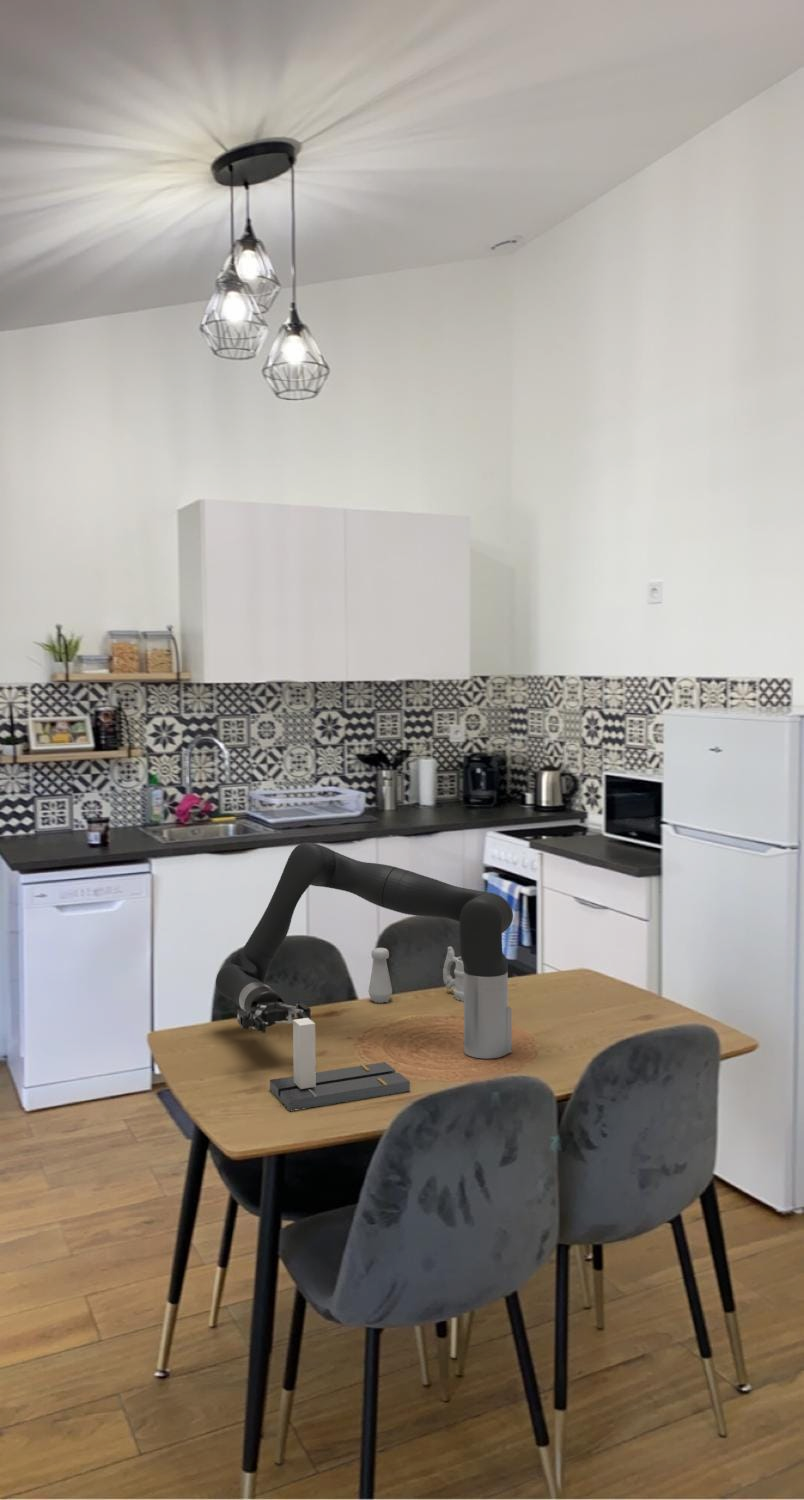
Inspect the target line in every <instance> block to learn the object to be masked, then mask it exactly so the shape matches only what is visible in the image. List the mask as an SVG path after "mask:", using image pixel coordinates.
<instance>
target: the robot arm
mask: <svg viewBox="0 0 804 1500" xmlns="http://www.w3.org/2000/svg"><path fill="white" fill-rule="evenodd" d="M310 886H313V887H321V888H322V887H323V888H328V889H329V888H330V889H332V890H333V889H334V890H338V891H343V892H348V893H351V894H353V895H355V896H358V898H362V899H363V900H365V901H366V902H369V903H371V904H373V905H375V906H378V907H381V908H383V909H386V910H390V911H394V912H397V913H400V914H405V915H409V916H418V917H419V916H420V917H433V918H443V919H448V920H452V921H456V922H458V923H459V924H458V925H459V926H458V928H459V930H458V931H459V948H460V951H459V953H460V956H461V959H462V961H463V964H464V1001H463V1053H464V1054H466V1055H467V1056H469V1057H472V1058H476V1059H498V1058H502V1057H504V1056H506V1055H508V1054H511V1053H512V1051H513V1050H512V1049H513V1048H512V1045H513V1043H512V1042H513V1041H512V1039H513V1038H512V1037H513V1035H512V1033H513V1032H512V1031H513V1030H512V1027H513V1026H512V1024H513V1023H512V1022H513V1020H512V1017H513V1015H512V1008H511V1006H509V1002H508V1001H509V1000H508V999H509V998H508V996H509V995H508V992H509V990H508V988H509V987H508V985H509V984H508V981H509V980H508V979H509V977H508V975H509V973H508V971H509V969H508V968H509V967H508V966H509V965H508V964H509V963H508V959H507V957H506V956H504V953H503V934H504V933H505V932H506V931H507V930H508V929H509V928H510V926H511V925H512V923H513V920H514V912H513V909H512V906H511V905H510V903H509V902H508V901H507V900H506V899H505V898H504V897H503V896H502V895H499V894H496V893H493V892H489V891H482V890H476V889H470V888H464V887H461V886H456V885H453V884H449V883H447V882H444V881H442V880H438V879H436V878H432V877H429V876H427V875H424V874H419V873H416V872H414V871H410V870H407V869H404V868H401V867H396V866H392V865H388V864H382V863H376V862H375V863H374V862H367V861H360V860H357V859H355V858H351V857H349V856H347V855H344V854H341V853H339V852H338V851H337V852H336V851H335V850H333V849H331V848H329V847H326V846H324V845H321V844H318V843H315V842H306V841H305V842H302V843H299V844H298V845H296V846H295V847H294V849H292V851H290V854H289V856H288V859H287V861H286V863H285V865H284V868H283V870H282V873H281V876H280V878H279V881H278V882H277V885H276V888H275V889H274V892H273V895H272V896H271V898H270V900H269V902H268V905H267V907H266V909H265V911H264V912H263V913H262V916H261V918H260V920H258V923H257V925H256V926H255V928H254V930H253V931H252V933H251V935H250V936H249V938H248V940H247V941H246V943H245V945H244V946H243V949H242V955H243V957H244V958H245V959H247V961H249V962H250V963H251V964H252V965H253V966H254V967H253V970H252V971H249V970H248V969H246V968H243V967H241V966H239V965H237V964H230V963H229V964H227V965H225V966H223V967H222V968H221V969H220V970H219V971H218V972H217V975H216V979H215V987H216V990H217V991H218V993H219V994H220V995H221V996H223V997H225V998H227V999H228V1000H230V1001H232V1002H233V1003H235V1004H236V1005H237V1006H238V1007H239V1008H238V1009H236V1010H237V1023H238V1025H239V1026H240V1027H241V1028H242V1029H243V1030H249V1028H250V1027H251V1028H252V1030H256V1031H257V1032H259V1033H261V1034H264V1033H265V1034H266V1031H267V1030H266V1029H267V1028H268V1027H272V1026H274V1025H275V1024H277V1023H278V1024H281V1023H284V1024H288V1025H289V1024H290V1025H291V1024H293V1020H295V1019H303V1018H309V1019H310V1020H311V1021H312V1017H311V1012H312V1008H311V1007H309V1006H308V1005H306V1004H305V1003H303V1002H301V1001H296V1002H295V1005H289V1004H287V1003H285V1001H284V1000H283V997H282V996H281V995H280V994H279V993H278V992H276V991H275V990H274V989H272V988H271V987H270V986H269V985H268V984H265V982H266V979H267V976H268V973H269V969H270V967H271V964H272V962H273V960H274V958H275V957H276V955H277V954H278V952H279V950H280V948H281V947H282V945H283V944H284V942H285V940H286V937H287V935H288V933H289V930H290V925H291V924H292V919H293V916H294V913H295V909H296V907H297V905H298V903H299V901H300V899H301V898H302V897H303V895H304V893H305V892H306V890H308V888H309V887H310Z"/></svg>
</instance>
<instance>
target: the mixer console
mask: <svg viewBox="0 0 804 1500" xmlns="http://www.w3.org/2000/svg"><path fill="white" fill-rule="evenodd" d="M410 1084H411V1082H410V1080H409V1079H408V1078H407V1077H405V1076H404V1075H402V1074H401V1073H400V1072H396V1069H395V1068H393V1067H392V1066H391V1065H390V1064H388V1063H387V1062H385V1061H382V1062H377V1063H369V1064H363V1063H362V1064H359V1065H358V1066H357V1065H356V1066H350V1067H345V1068H337V1069H331V1070H330V1069H329V1070H324V1071H323V1070H322V1071H318V1072H316V1087H311V1088H304V1089H300V1088H299V1087H298V1086H297V1085H296V1084H295V1083H294V1075H292V1076H285V1077H280V1078H272V1079H269V1091H270V1093H272V1094H273V1095H274V1096H275V1098H276V1099H279V1100H280V1101H281V1102H282V1103H283V1104H284V1105H283V1104H282V1103H281V1102H280V1101H279V1100H278V1101H279V1102H280V1103H281V1104H282V1105H283V1106H284V1107H285V1108H286V1107H287V1108H288V1109H287V1108H286V1109H287V1111H288V1112H292V1111H291V1110H295V1109H302V1110H304V1109H303V1108H308V1109H311V1108H310V1107H314V1108H319V1107H318V1106H320V1107H324V1106H325V1105H326V1106H331V1105H330V1104H332V1105H336V1104H335V1103H338V1104H342V1103H341V1102H344V1103H347V1102H346V1101H350V1102H353V1101H352V1100H356V1101H360V1100H359V1099H362V1100H365V1099H364V1098H368V1099H371V1098H370V1097H374V1098H377V1097H378V1096H380V1097H384V1096H390V1095H389V1094H391V1095H395V1094H394V1093H397V1094H402V1093H401V1092H403V1093H407V1092H406V1091H409V1092H411V1085H410ZM378 1098H379V1097H378Z"/></svg>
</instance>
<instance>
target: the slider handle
mask: <svg viewBox="0 0 804 1500" xmlns="http://www.w3.org/2000/svg"><path fill="white" fill-rule="evenodd" d="M292 1032H293V1033H292V1036H293V1037H292V1040H293V1041H292V1042H293V1043H292V1045H293V1046H292V1047H293V1048H292V1049H293V1050H292V1052H293V1053H292V1054H293V1056H292V1057H293V1059H292V1061H293V1076H294V1083H295V1084H296V1085H297V1086H298V1087H299V1088H300V1089H304V1088H311V1087H316V1073H317V1072H316V1070H317V1069H316V1068H317V1067H316V1062H317V1061H316V1058H317V1057H316V1023H315V1022H314V1021H313V1020H312V1019H311V1020H310V1019H309V1018H303V1019H295V1020H293V1023H292Z"/></svg>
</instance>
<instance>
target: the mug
mask: <svg viewBox="0 0 804 1500" xmlns="http://www.w3.org/2000/svg"><path fill="white" fill-rule="evenodd" d="M453 963H455V969H454V971H453V972H454V973H453V974H454V976H455V978H453V976H452V975H451V967H452V965H453ZM442 976H443V979H442V980H443V983H444V984H445V987H446V989H447V990H450V989H453V992H452V994H453V995H454V999H455V1000H456V999H457V1000H456V1001H458V1000H460V1001H461V1002H464V964H463V961H462V959H461V955H460V956H458V957H456V955H455V950H454V948H453V946H448V947H447V954H446V957H445V961H444V964H443V969H442ZM453 986H454V988H453Z"/></svg>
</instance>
